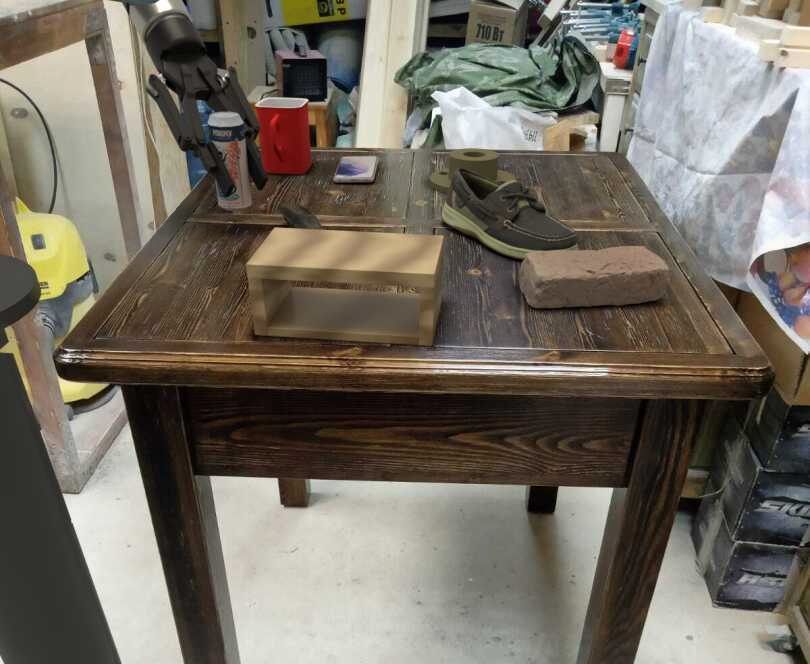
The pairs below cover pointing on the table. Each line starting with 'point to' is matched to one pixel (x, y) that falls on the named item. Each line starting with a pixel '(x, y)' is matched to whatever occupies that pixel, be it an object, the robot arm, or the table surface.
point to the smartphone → (356, 169)
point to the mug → (284, 135)
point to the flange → (470, 167)
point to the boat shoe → (503, 216)
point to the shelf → (347, 263)
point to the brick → (592, 277)
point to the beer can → (231, 158)
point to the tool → (299, 217)
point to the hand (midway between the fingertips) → (246, 187)
